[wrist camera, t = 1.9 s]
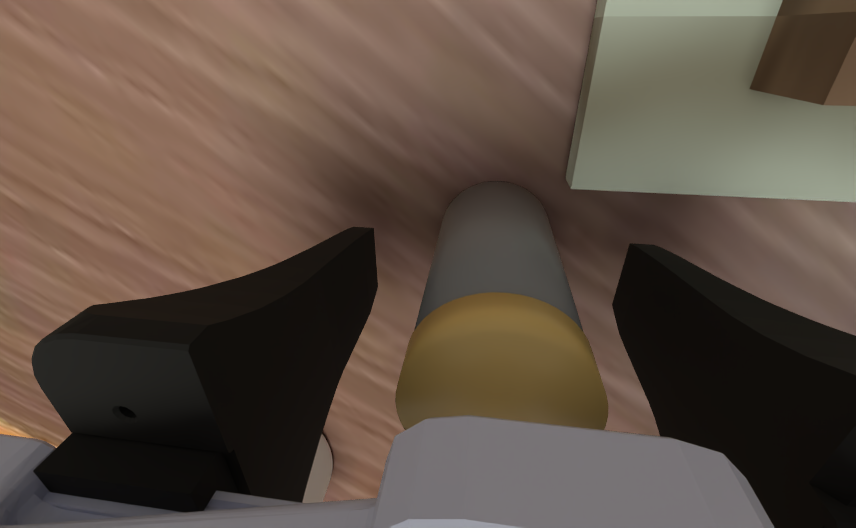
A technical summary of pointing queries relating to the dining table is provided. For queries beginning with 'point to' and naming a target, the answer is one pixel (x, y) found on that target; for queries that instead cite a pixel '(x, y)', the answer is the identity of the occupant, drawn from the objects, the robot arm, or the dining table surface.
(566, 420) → the yellow capped shaker
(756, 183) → the holder
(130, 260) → the dining table surface
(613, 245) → the dining table surface
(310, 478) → the eye dropper bottle
